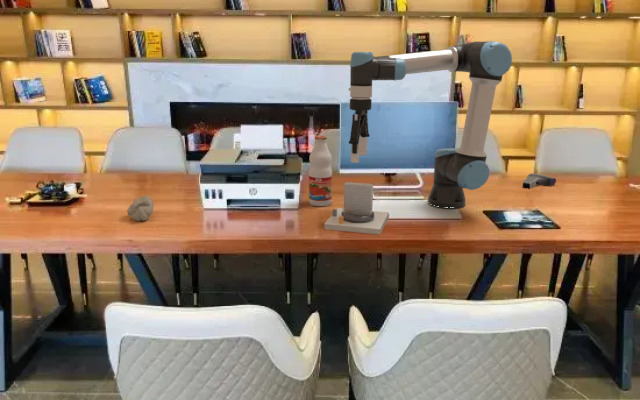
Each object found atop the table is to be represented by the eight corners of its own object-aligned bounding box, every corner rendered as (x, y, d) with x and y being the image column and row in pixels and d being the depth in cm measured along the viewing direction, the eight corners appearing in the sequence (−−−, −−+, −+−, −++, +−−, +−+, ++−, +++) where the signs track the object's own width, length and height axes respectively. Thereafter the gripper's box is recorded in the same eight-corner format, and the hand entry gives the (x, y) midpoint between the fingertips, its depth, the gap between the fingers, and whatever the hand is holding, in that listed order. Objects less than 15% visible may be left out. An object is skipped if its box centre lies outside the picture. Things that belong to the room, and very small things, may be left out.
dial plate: (388, 217, 205) (389, 206, 204) (379, 234, 187) (380, 222, 185) (338, 212, 210) (338, 201, 209) (324, 229, 192) (324, 217, 191)
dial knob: (376, 213, 202) (378, 181, 198) (370, 223, 191) (371, 189, 187) (345, 210, 205) (346, 179, 201) (338, 220, 194) (338, 187, 190)
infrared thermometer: (519, 189, 249) (529, 181, 260) (547, 194, 242) (555, 185, 253) (520, 180, 247) (530, 172, 259) (548, 184, 240) (556, 175, 252)
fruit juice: (334, 201, 225) (335, 134, 217) (328, 207, 217) (329, 138, 209) (312, 199, 228) (312, 133, 220) (306, 205, 219) (305, 137, 211)
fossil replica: (135, 225, 195) (161, 221, 202) (136, 204, 193) (161, 200, 200) (121, 215, 203) (145, 212, 210) (121, 194, 201) (146, 192, 208)
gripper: (357, 94, 198) (356, 151, 204) (341, 101, 175) (340, 165, 181) (377, 95, 196) (375, 152, 202) (364, 102, 173) (362, 166, 179)
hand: (358, 158), depth 192 cm, fingers open, 13 cm apart
